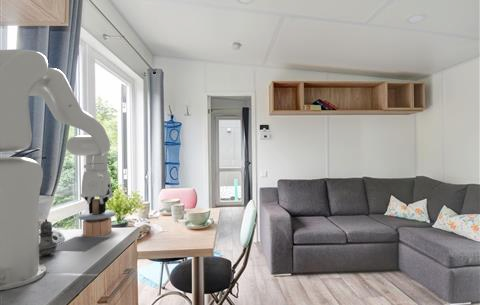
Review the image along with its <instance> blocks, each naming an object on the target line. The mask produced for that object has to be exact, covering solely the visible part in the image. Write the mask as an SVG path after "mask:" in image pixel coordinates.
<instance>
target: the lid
mask: <svg viewBox="0 0 480 305" xmlns="http://www.w3.org/2000/svg"><path fill="white" fill-rule="evenodd" d="M99 204H100V198H98V197H96V198H95V199H92V214H89V211H88V212H83V213H80V214H78V219H79V220H82V221H84V220H97V219H104V218H109V217H111V218H112V217H114V216H115V215H116V211H114V210H108V209H107V210H105V213H102V214H99Z"/></svg>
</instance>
